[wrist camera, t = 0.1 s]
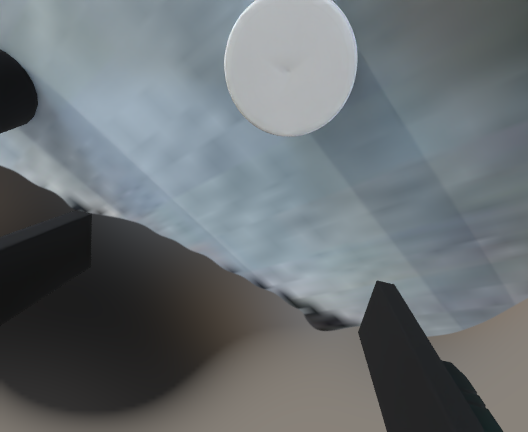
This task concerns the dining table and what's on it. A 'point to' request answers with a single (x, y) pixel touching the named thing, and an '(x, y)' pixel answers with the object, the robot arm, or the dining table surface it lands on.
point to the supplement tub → (291, 64)
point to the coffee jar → (15, 94)
